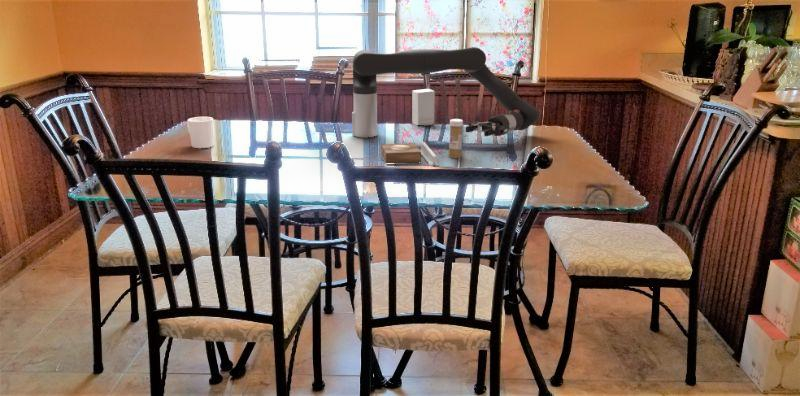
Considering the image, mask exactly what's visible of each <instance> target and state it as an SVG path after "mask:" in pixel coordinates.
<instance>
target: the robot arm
mask: <svg viewBox="0 0 800 396" xmlns="http://www.w3.org/2000/svg"><path fill="white" fill-rule="evenodd" d="M486 61H487V56H486V53H485V52H484V50H482V49H481V48H479V47H477V46H476V47H474V46H472V47H465V48H461V49H460V48H458V49H433V48H432V49H431V48H430V49H428V48H427V49H426V48H420V49H419V48H418V49H409V50H403V51H397V52H392V53H377V52H375V53H373V52H371V51H370V50H367V49H362V50H359V51H357V52H356V53H355V54H354V56H353V59H352V86H353V87H352V89H353V91H352V94H353V111H352V112H351V124H352V125H351V126H352V127H351V128H352V129H351V130H352V133H351V134H352V137H356V138H363V139H364V138H367V139H368V137H369V138H374V136H375V137H376V136H378V87H377V85H378V83H377V75H383V74H399V75H400V74H403V75H404V74H405V75H409V74H410V75H419V74H422V75H423V74H432V73H438V72H443V71H444V72H445V71H447V70H461V71H462V70H464V71H465V72H466V73H467V74H468V75H470V77H471V76H472V77H473V78H474V79H475V80H476V81H478V82H479V84H481V85H482V86H483V87H484V88H485V89H486V90H487V91H488V92H489V93H490V94H491V95H492V96H493V97H494V98H495V99H496V101H497V102H498V103H499V104H500V105H501V106H502V107H503V108H504V109H505V110H506V111H507V112H508V113H502V114H499V115H498V114H497V115H493V116H491V117H490V118H489V119H488V120H487V121H484V122H483V121H482V122H481V121H480V120H477V121H473V122H469V123H468V125H467V126H465V133H472V132H478V133H484V137H489V136H493V137H500V136H503V135H506V134H509V133H511V132H513V131H514V132H515V131H524V130H526V129H527V128H529V127H530V126H532V125H534V124H535V123H536V122H538V120H540V112H539V111H538V109H537V107H535V106H534V105H532V104H531V103H529V102H527V101H526V100H524V99H523V98H521V97H519V96H518V95H517V93H516V92H515V90H513V89H512V88H511V86H509V85H508V84H507V83H506V82H505V81H503V80H501V79H500V77H498V76H497V75H496V74H495V73H493V72H492V71H491V70H490V69H489V66H487V64H486ZM515 110H516V111H515ZM517 110H518V112H517Z"/></svg>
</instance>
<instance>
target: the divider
mask: <svg viewBox="0 0 800 396" xmlns="http://www.w3.org/2000/svg"><path fill="white" fill-rule="evenodd" d="M419 150H420V151H421V157H422V158H423V160H424V161H425V162H426V161H427V162H428V163H427V162H426V163H427V164H428V166H429V165H430V166H429V167H439V166H440V164H439V163H438V162H437V155H436V154H435V153H434V151H433V150H432V149H431V148H430V147H429V146H428V144H427V143H426V142H425V141H420V149H419Z"/></svg>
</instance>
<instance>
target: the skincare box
mask: <svg viewBox="0 0 800 396" xmlns="http://www.w3.org/2000/svg"><path fill="white" fill-rule="evenodd" d="M411 92H412V93H411V95H412V96H411V100H412V101H411V102H412V103H411V105H412V106H411V110H412V111H411V113H412V114H411V116H412V119H411V123H412V124H413V125H414V126H416V125H424V126H431V125H435V96H436V95H435V94H436V91H435V90H433V89H431V88H424V89H416V90H415V89H414V90H412V91H411Z"/></svg>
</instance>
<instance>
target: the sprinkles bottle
mask: <svg viewBox="0 0 800 396" xmlns="http://www.w3.org/2000/svg"><path fill="white" fill-rule="evenodd" d="M463 125H464V120H463V119H460V118H453V119H452V118H451V119H450V120H449V127H450V129H449V140H448V141H449V143H448V144H449V145H448V147H449V148H448V149H449V151H448V157H449V158H451V159H460V158H461V157H462V147H463Z"/></svg>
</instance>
